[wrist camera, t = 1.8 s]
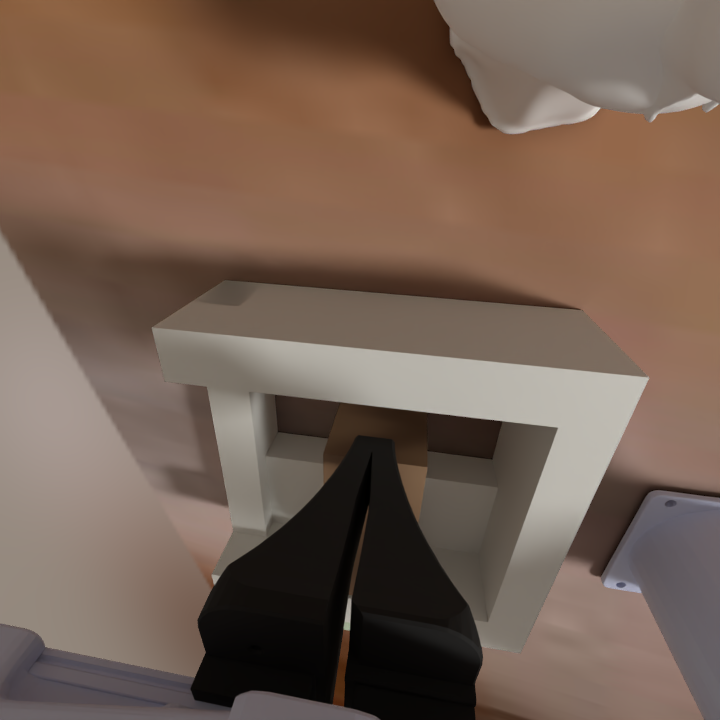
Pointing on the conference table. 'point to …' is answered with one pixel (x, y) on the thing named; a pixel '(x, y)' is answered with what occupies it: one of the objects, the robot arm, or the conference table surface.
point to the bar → (388, 424)
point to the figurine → (585, 57)
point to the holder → (425, 394)
